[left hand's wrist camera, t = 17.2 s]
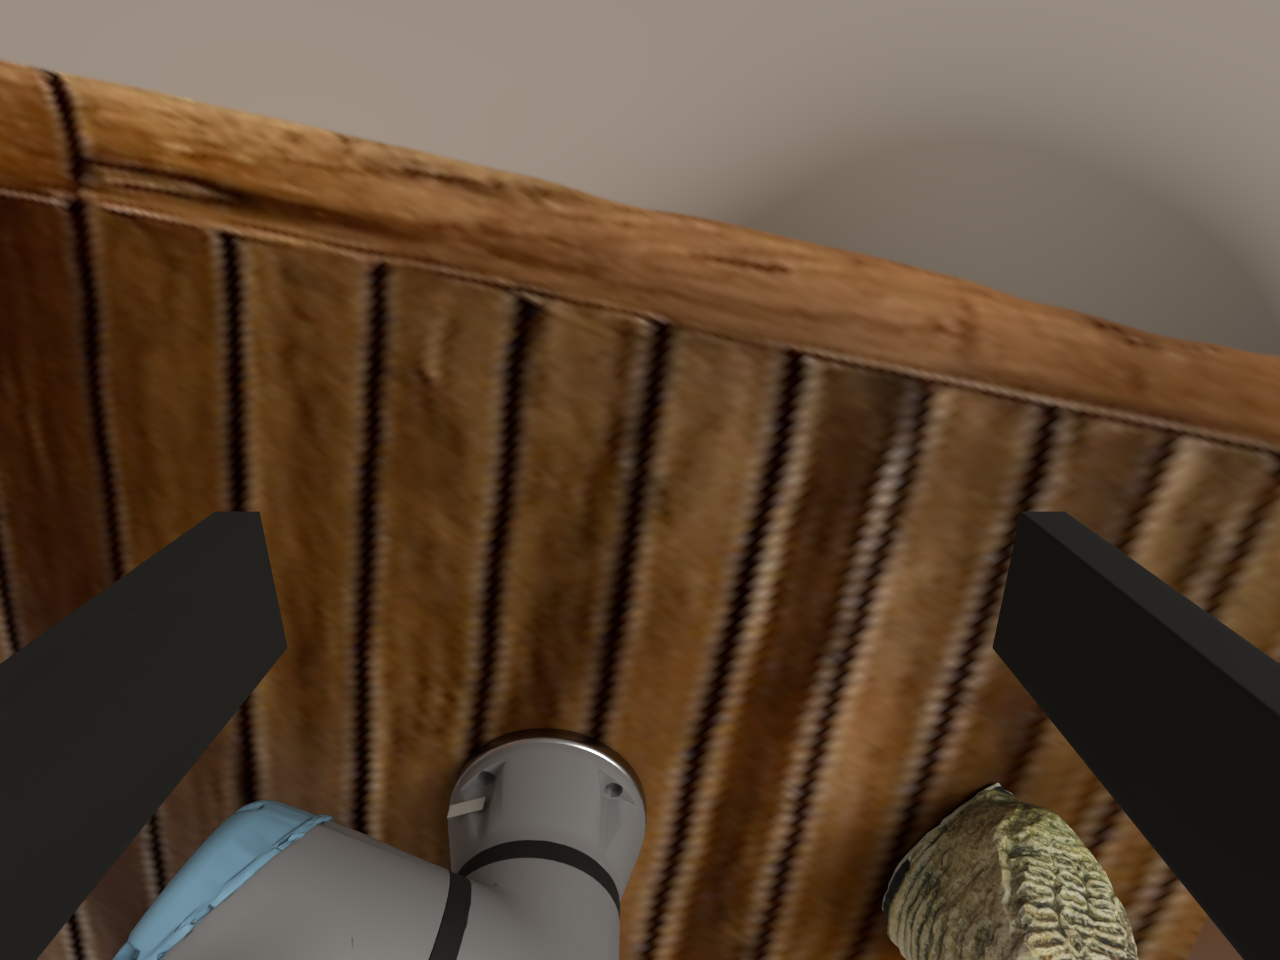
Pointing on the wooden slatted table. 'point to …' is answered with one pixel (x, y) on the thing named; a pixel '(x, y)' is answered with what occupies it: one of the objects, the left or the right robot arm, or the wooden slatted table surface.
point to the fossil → (1004, 890)
